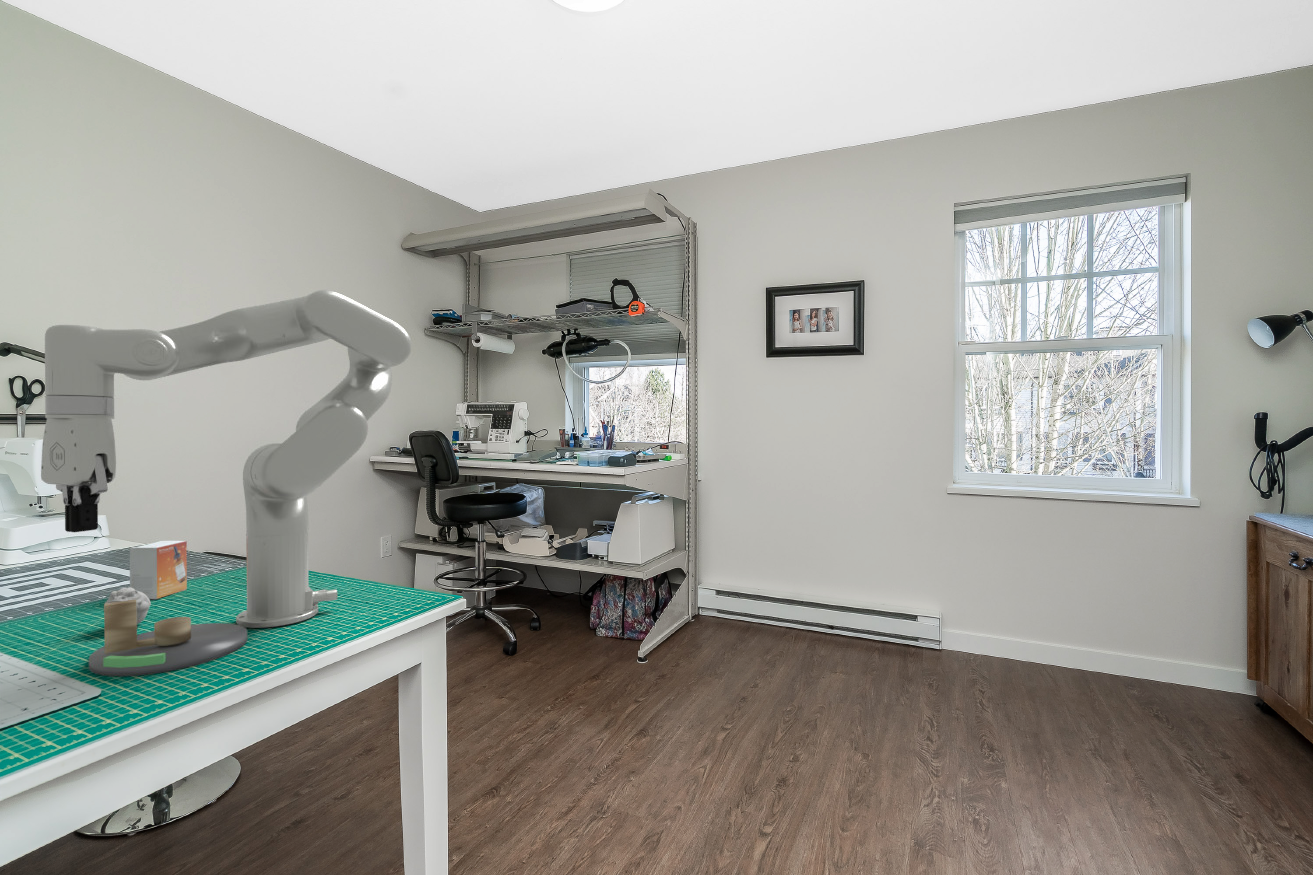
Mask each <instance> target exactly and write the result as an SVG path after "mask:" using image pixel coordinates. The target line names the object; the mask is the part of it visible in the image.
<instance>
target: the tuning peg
mask: <svg viewBox="0 0 1313 875" xmlns="http://www.w3.org/2000/svg"><path fill="white" fill-rule="evenodd" d="M104 604H105V603H104ZM103 612H104V613H103V614H104V615H103V617H104V618H103V619H104V620H103V621H104V622H103V623H104V624H103V625H104V627H103V628H104V646H105V654H107V653H112V652H118V651H124V650H130V649H135V648H139V647H144V646H150V645H157V646H167V645H174V644H179V643H182V642H185V641H188V640H189V639H191V625H192V618H191V617H189V616H176V617H175V616H174V617H169V618H165V619H160V620H158V621H156V622H155V623H154V626H153V627H154V628H153V629H154V630H153V631H154V638H150V639H144V640H138V641H137V635H138V624H137V604H136V599H135V600H128V601H120V602H113V603H106V604H105V605H103Z"/></svg>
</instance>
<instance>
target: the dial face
mask: <svg viewBox="0 0 1313 875" xmlns="http://www.w3.org/2000/svg"><path fill="white" fill-rule="evenodd" d="M150 638H154V630H152V631H147V632H143V633H139V634H137V641H138V640H144V639H150ZM247 642H248V629H247V627H242V626H240V625H238V624H234V623H221V622H220V623H219V622H218V623H217V622H216V623H212V622H211V623H210V622H209V623H199V624H191V639H189V640H188V641H185V642H182V643H179V644H174V645H167V646H157V645H150V646H144V647H139V648H135V649H130V650H124V651H118V652H112V653H107V654H105V645H103V646H102V647H100V648H98V649H96V650H95V651H94V652H92V653H91V654H90V656H89V657H88V670H89V671H90V672H91V673H94V674H96V675H99V676H100V675H101V676H107V677H131V676H132V677H134V676H143V675H144V676H145V675H153V674H160V673H166V672H167V673H168V672H171V671H176V670H181V669H185V668H191V667H194V666H197V665H201V664H202V665H203V664H204V663H205V664H206V663H209V662H211V661H214V660H217V659H220V658H222V657H225V656H227V655H230V654H232V653H234V652H235V651H237V650H239V649H240V648H242V647H244V646H245V644H246V643H247Z"/></svg>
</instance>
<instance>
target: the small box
mask: <svg viewBox="0 0 1313 875" xmlns="http://www.w3.org/2000/svg"><path fill="white" fill-rule="evenodd" d="M187 543H188V542H187V540H159V541H157V542H152V543H149V544H144V545H140V546H139V545H137V546H133V547H130V548H129V587H130V588H133V589H134V590H137V591H139V592H142V593H144V594H145V595H146V596H147V597H148V598H149V600H158V599H161V598H164V597H167V596H170V595H173V594H177V593H180V592H184V591H187V589H188V581H187V580H188V579H187V578H188V577H187V575H188V572H187V571H188V570H187V569H188V567H187V565H188V560H187V558H188V555H187V554H188V553H187V552H188V548H187V546H188V545H187Z"/></svg>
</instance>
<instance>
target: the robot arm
mask: <svg viewBox="0 0 1313 875" xmlns="http://www.w3.org/2000/svg"><path fill="white" fill-rule="evenodd" d="M44 333H45V334H44V384H45V385H44V395H45V396H44V398H45V399H44V400H45V401H44V402H45V403H44V405H45V407H44V409H45V410H44V411H45V415H44V416H45V419H46V422H45V424H44V425H45V427H44V432H43V435H42V437H43V438H42V447H41V465H40V466H41V467H40V468H41V469H40V477H41V481H43V482H44V483H45V484H46V485H47V484H48V485H55V488H56V490H57V491H60V492H61V493H62V494H61V495H62V502H63V504H64V518H65V519H64V530H65V532H67V533H81V532H89V531H96V530H97V529H98V527H99V519H98V518H99V514H98V513H99V510H98V508H99V506H98V504H99V503H100V501H101V500H100V499H101V494H103V493H106V492H108V484H109V483H111V482H113V481H114V480H115V478H116V475H117V474H116V472H117V471H116V470H117V455H116V454H117V452H116V440H115V432H114V424H113V421H112V420H115V376H114V375H115V374H120V375H122V374H123V375H124V376H125V377H128V378H131V379H132V380H137V381H152V380H153V381H154V380H156V379H157V380H158V379H161V378H165V377H169V376H173V375H174V376H175V375H178V374H182V373H185V372H190V371H194V370H199V369H203V368H208V367H212V366H215V365H221V364H227V363H235V362H242V361H245V360H250V359H255V358H259V357H262V356H266V355H267V356H268V355H270V354H275V353H278V352H282V351H283V352H284V351H287V350H291V349H296V348H301V347H304V346H305V347H306V346H308V345H312V344H316V343H320V342H324V341H328V340H333V341H335V342H336V343H338V344H340V345H342V346H345V347H346V348H347V356H348V359H349V361H348V362H349V369H348V372H347V375H346V376H345V377H344V378H343V379H342V380H341V381H340V383H338V384H337V385H336V386H335V387H334V388H333V389H332V390H330V391H329V392H328V393H327V394H326V395H324V396H323V397H322V398H321V399H320V400H318V401H317V402H316V403H314V405H312V406H311V407H309V408H308V409H306V410H305V411H304V412H303V413H302V414H301V415H300V417H299V418H298V420H297V422H296V424H295V425H296V426H295V432H293V434H291V435H290V436H289V437H287V439H286V440H284V441H283V442H281V443H280V442H275V443H274V442H273V443H268V444H265V445H262V446H261V445H260V447H258V448H256V449H255V450H253V451H252V452H251V453H250V455H249V456H248V457H247V458H246V460H245V463H244V465H243V469H242V485H243V494H244V502H245V503H244V504H245V519H246V520H245V523H246V525H245V526H246V528H245V529H246V534H245V536H246V545H245V546H246V547H245V548H246V610H244V611H243V610H242V612H240V613H238V614H237V615H236V621H235V622H236V625H239V626H242V627H244V628H251V629H252V628H253V629H254V628H256V629H257V628H259V629H260V628H261V629H262V628H264V629H265V628H273V627H274V628H275V627H280V626H287V625H291V624H295V623H296V624H297V623H300V622H303V621H305V620H308V619H311V618H312V617H314V616H316V615H317V614H318V613H319V605H318V604H320V602H325V601H326V602H329V601H336V600H338V590H337V589H336V588H335V589H331V590H328V589H320V590H313V589H312V588H311V587H310V586H309V509H308V500H307V496H309V495H311V494H312V493H314V492H315V491H317V489H319V488H320V487H321V486H322V485H323V484H325V482H327V480H329V479H330V478H331V477H332V476H333V475H334V474H335V473H336V472H337V471H338V470H339V469H341V468H342V466H344V465H345V464H346V463H347V462H348V461H349V460H350V459H351V458H352V457H353V456H354V455H355V454H357V452H358V451H359V450H360V449H361V448H362V446H363V445H364V443H365V442H366V440H367V436H368V432H369V425H368V421H369V420H370V419H371V418H372V417H373V415H374V414H376V413H377V412H378V411H379V409H381V407H382V406H383V405H384V404H385V402H386V401H387V399H388V398H389V395H390V394H391V390H392V384H393V383H392V381H393V370H392V367H397V366H398V365H401V364H402V363H404V362H405V361H406V360H407V359H408V358H409V356H410V355H411V351H412V340H411V337H410V335H409V333H408V332H407V331H406V330H405V328H403V327H402V326H401V325H400V324H398V323H397V322H396V321H393V320H392V319H390V318H388V317H386V316H384V315H382V314H380V313H378V312H376V311H374V310H372V309H370V308H368V307H367V306H365V305H363V304H361V303H359V302H357V301H355V300H354V299H352V298H350V297H347V296H346V295H343V294H341V293H339V292H336V291H332V290H327V289H320V290H316V291H314V292H312V293H309V294H308V295H306V296H302V297H297V298H291V299H290V298H289V299H285V300H280V301H276V302H272V303H267V304H265V303H264V304H261V305H254V306H248V307H242V308H237V309H233V310H229V311H227V312H223V313H220V314H219V315H216V316H213V317H211V318H209V319H207V320H203V321H200V322H196V323H192V324H189V325H184V326H179V327H176V328H171V329H167V330H166V329H165V330H161V331H158V330H157V331H156V330H152V329H103V328H100V327H95V326H87V325H78V324H55V325H51V326H49V327H48V328H47V329H46V330H45V332H44Z"/></svg>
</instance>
